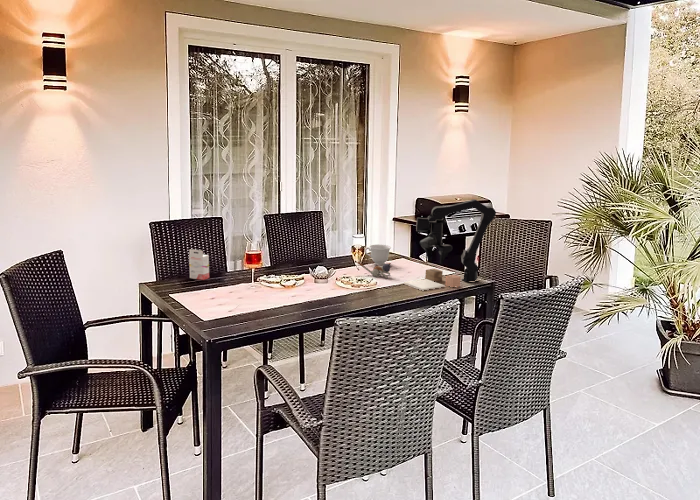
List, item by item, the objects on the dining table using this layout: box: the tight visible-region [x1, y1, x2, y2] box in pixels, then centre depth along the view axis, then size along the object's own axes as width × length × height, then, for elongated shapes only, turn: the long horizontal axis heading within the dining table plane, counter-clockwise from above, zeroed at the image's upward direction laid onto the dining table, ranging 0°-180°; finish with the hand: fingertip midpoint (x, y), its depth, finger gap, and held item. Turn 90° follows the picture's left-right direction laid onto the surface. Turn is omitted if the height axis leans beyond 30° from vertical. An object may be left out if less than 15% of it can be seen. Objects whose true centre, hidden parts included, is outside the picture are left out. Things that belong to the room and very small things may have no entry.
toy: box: [356, 261, 392, 279], centre depth 303 cm, size 9×18×10 cm, turn 77°
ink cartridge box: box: [188, 248, 210, 281], centre depth 287 cm, size 9×5×15 cm, turn 68°
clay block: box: [444, 274, 462, 287], centre depth 287 cm, size 5×5×5 cm
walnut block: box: [424, 268, 443, 282], centre depth 298 cm, size 6×6×5 cm
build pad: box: [404, 278, 446, 292], centre depth 287 cm, size 14×14×1 cm
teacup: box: [364, 244, 392, 266], centre depth 328 cm, size 12×15×10 cm
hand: (434, 262), depth 297 cm, fingers open, 9 cm apart
